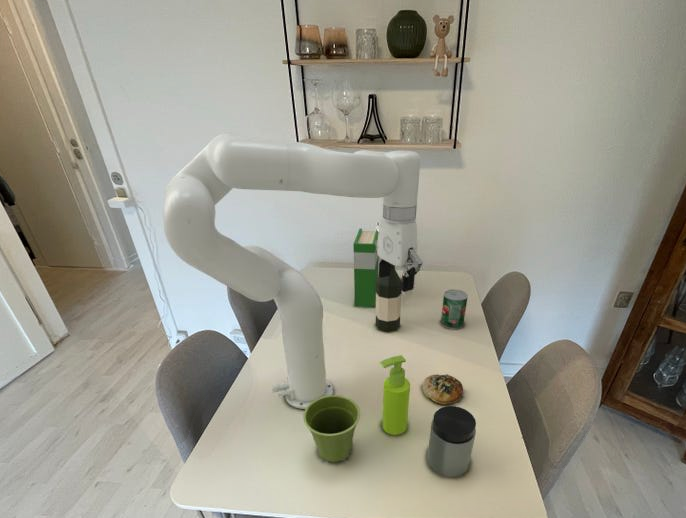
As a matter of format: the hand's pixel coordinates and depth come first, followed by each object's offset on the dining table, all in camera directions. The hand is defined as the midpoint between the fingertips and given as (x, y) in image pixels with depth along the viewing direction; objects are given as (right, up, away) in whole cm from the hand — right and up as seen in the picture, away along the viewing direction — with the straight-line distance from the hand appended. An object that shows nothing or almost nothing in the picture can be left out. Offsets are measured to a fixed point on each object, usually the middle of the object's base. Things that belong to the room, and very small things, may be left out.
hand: (395, 283), depth 95 cm
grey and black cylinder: (+11, -40, -11) cm, 43 cm away
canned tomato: (+22, -8, +38) cm, 45 cm away
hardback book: (-7, +4, +56) cm, 56 cm away
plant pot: (-14, -39, -9) cm, 43 cm away
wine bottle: (0, -9, +37) cm, 38 cm away
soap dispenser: (-1, -35, -3) cm, 35 cm away
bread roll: (+13, -28, +8) cm, 32 cm away
